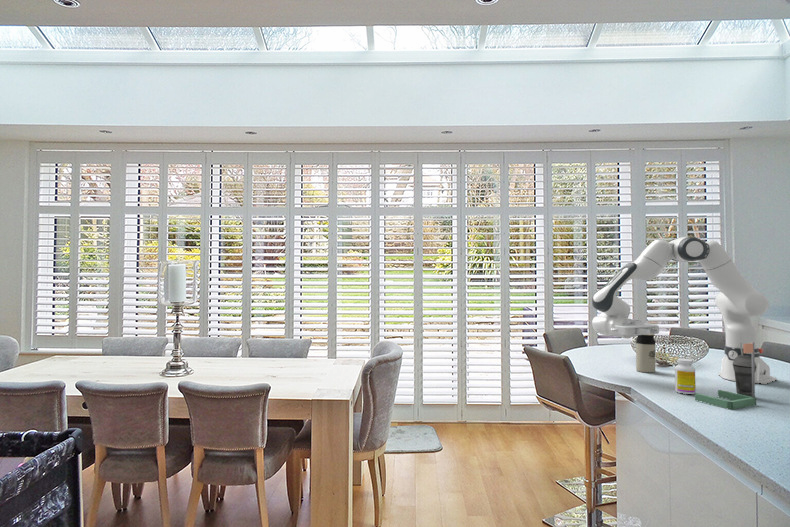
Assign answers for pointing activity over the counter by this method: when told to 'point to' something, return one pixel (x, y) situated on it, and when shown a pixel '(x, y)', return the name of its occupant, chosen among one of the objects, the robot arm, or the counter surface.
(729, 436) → the counter surface
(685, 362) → the supplement bottle
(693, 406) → the counter surface
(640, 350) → the travel mug
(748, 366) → the beverage cup
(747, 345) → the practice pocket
